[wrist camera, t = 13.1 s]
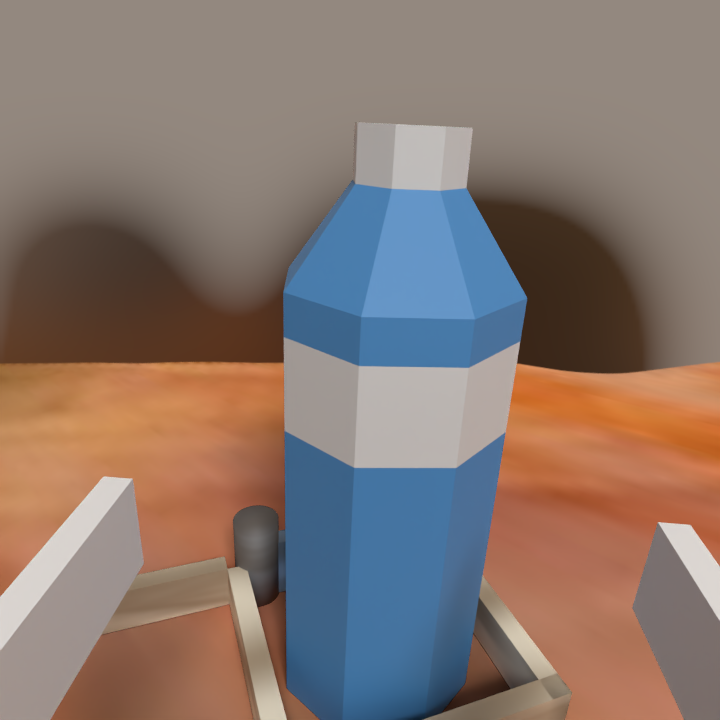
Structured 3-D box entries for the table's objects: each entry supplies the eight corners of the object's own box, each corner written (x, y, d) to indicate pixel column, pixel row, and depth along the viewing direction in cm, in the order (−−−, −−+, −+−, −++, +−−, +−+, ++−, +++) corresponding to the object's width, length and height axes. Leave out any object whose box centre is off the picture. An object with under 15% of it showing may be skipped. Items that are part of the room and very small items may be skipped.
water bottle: (325, 783, 23) (345, 122, 14) (257, 616, 31) (241, 117, 22) (505, 696, 27) (619, 135, 18) (406, 567, 35) (448, 126, 25)
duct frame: (-14, 636, 29) (-37, 558, 27) (432, 535, 38) (439, 471, 36) (-109, 991, 17) (-160, 900, 16) (570, 727, 26) (592, 647, 24)
